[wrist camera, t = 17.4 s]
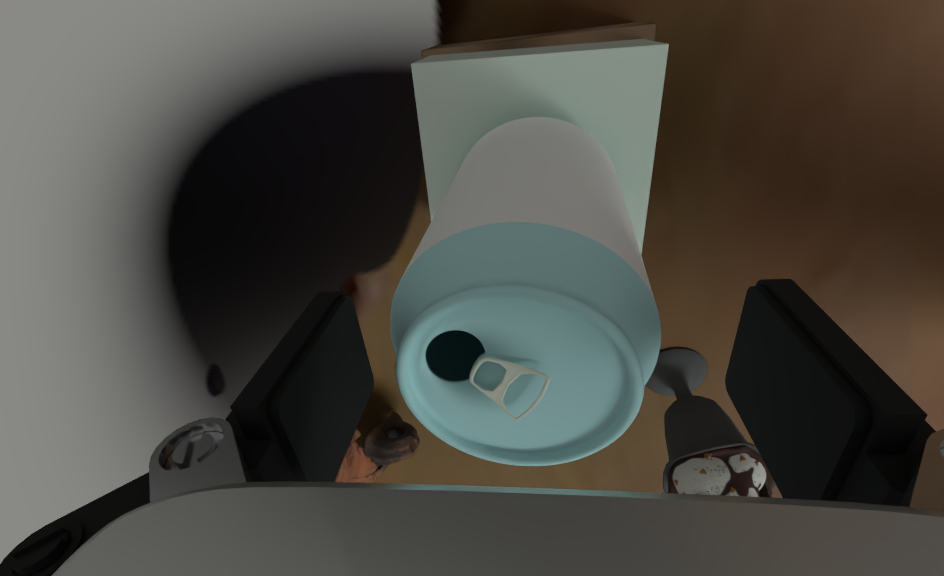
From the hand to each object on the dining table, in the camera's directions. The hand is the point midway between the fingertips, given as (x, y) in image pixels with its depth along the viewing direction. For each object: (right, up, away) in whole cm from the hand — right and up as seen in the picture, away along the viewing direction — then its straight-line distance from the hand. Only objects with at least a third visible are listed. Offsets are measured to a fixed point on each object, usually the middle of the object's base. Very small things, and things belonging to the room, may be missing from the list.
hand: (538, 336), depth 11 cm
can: (+1, +6, +9) cm, 11 cm away
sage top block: (+2, +8, +13) cm, 16 cm away
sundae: (+15, -5, +25) cm, 30 cm away
